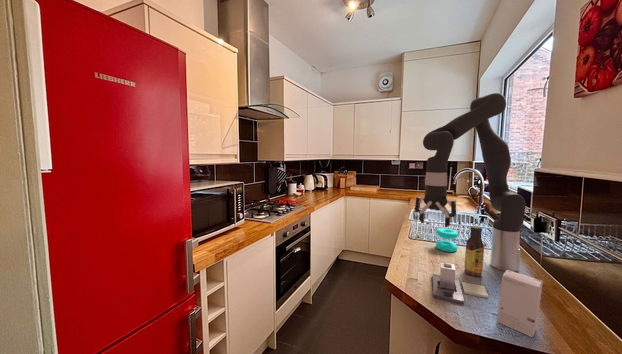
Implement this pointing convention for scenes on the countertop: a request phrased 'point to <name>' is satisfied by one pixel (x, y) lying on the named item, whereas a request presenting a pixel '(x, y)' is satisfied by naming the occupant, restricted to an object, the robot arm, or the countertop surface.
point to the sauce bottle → (474, 252)
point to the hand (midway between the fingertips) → (434, 224)
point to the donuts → (447, 245)
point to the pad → (474, 290)
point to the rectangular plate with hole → (445, 294)
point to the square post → (447, 276)
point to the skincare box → (519, 302)
